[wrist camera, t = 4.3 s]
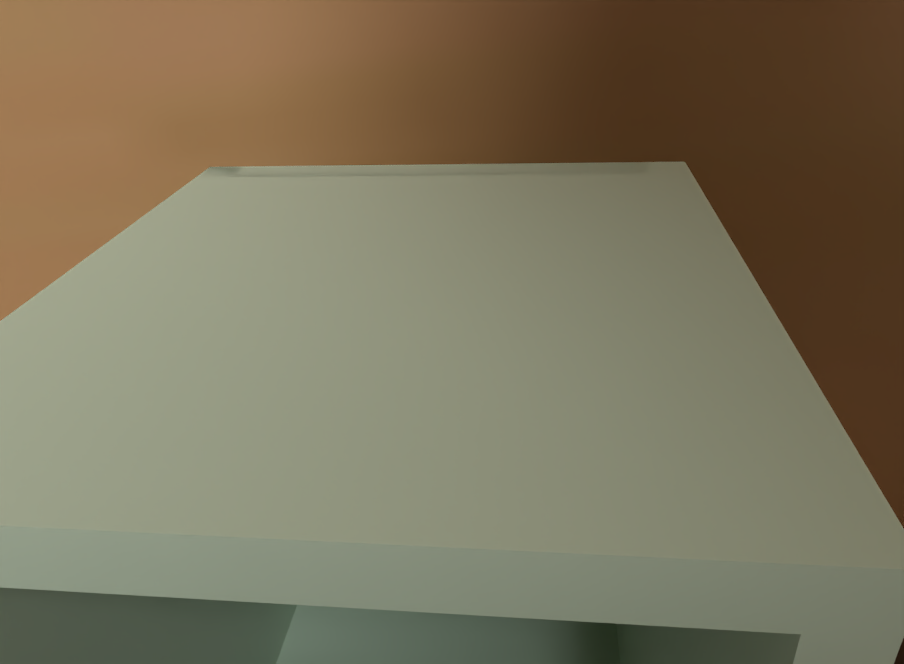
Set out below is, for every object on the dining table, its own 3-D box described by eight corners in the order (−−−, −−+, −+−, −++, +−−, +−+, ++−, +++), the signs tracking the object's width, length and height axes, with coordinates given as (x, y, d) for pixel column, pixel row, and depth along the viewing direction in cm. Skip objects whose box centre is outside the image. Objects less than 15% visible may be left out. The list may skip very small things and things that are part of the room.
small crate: (210, 166, 10) (-262, 513, 4) (684, 161, 10) (929, 569, 4) (293, 573, 14) (106, 1060, 8) (636, 592, 13) (714, 1142, 7)
